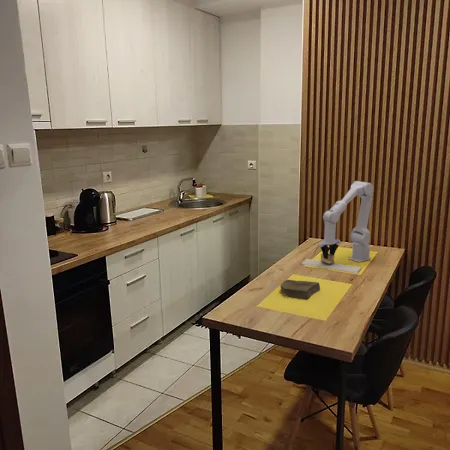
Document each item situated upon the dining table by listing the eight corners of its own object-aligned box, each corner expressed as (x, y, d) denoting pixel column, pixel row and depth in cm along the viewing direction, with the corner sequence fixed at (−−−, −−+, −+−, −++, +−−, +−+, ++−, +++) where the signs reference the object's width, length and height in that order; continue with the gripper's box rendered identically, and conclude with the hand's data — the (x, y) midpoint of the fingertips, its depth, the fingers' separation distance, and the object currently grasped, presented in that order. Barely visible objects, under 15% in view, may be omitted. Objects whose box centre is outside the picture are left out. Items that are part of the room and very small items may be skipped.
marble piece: (320, 289, 196) (320, 281, 195) (315, 301, 183) (315, 292, 182) (284, 285, 202) (285, 276, 201) (277, 296, 189) (277, 287, 188)
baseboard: (356, 275, 215) (361, 270, 224) (357, 270, 215) (361, 264, 223) (300, 266, 230) (306, 261, 239) (300, 261, 230) (306, 256, 238)
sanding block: (325, 260, 233) (326, 252, 232) (334, 263, 228) (334, 255, 227) (320, 261, 231) (321, 253, 230) (328, 264, 226) (329, 256, 225)
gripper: (334, 230, 232) (332, 253, 235) (314, 233, 225) (313, 258, 228) (343, 232, 226) (342, 257, 230) (324, 236, 219) (322, 261, 222)
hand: (328, 257), depth 228 cm, fingers closed on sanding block, 4 cm apart
